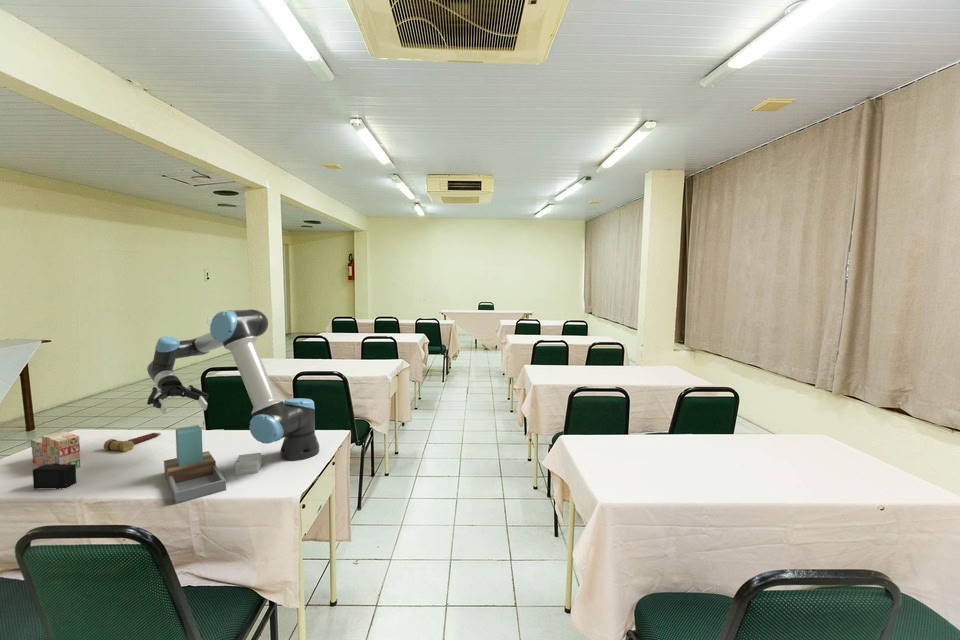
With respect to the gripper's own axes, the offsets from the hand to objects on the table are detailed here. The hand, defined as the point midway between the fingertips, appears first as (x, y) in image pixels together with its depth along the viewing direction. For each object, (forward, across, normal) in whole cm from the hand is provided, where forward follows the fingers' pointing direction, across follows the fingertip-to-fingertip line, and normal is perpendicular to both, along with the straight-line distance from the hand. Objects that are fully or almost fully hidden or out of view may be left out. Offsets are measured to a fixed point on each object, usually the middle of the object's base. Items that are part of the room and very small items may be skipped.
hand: (186, 408), depth 158 cm
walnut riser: (+16, 0, -18) cm, 24 cm away
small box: (+28, -15, -13) cm, 34 cm away
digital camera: (-8, +30, -31) cm, 44 cm away
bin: (+29, +3, -14) cm, 33 cm away
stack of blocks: (-30, +27, -38) cm, 56 cm away
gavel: (-34, +1, -37) cm, 50 cm away
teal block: (+14, 0, -14) cm, 20 cm away
